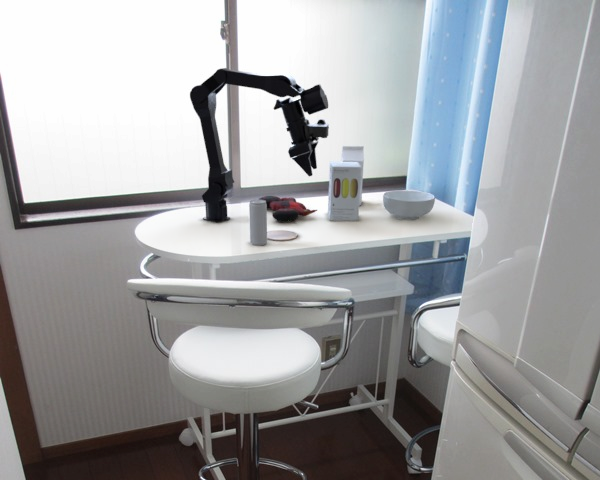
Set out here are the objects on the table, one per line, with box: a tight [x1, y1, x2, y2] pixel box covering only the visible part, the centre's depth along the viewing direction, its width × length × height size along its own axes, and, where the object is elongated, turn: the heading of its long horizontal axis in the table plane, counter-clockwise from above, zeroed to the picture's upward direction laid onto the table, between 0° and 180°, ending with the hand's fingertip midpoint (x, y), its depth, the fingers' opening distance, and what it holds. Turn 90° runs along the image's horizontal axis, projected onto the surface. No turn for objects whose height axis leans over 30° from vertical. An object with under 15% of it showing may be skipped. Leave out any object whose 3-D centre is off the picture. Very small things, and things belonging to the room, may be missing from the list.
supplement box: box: [327, 161, 361, 222], centre depth 219 cm, size 10×9×17 cm
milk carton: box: [341, 145, 365, 206], centre depth 236 cm, size 7×7×19 cm
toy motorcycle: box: [258, 195, 318, 223], centre depth 227 cm, size 25×5×16 cm
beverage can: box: [248, 199, 268, 247], centre depth 194 cm, size 5×5×12 cm
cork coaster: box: [267, 229, 298, 242], centre depth 204 cm, size 10×10×1 cm
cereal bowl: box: [382, 189, 436, 221], centre depth 223 cm, size 17×17×7 cm
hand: (313, 172), depth 206 cm, fingers open, 9 cm apart
